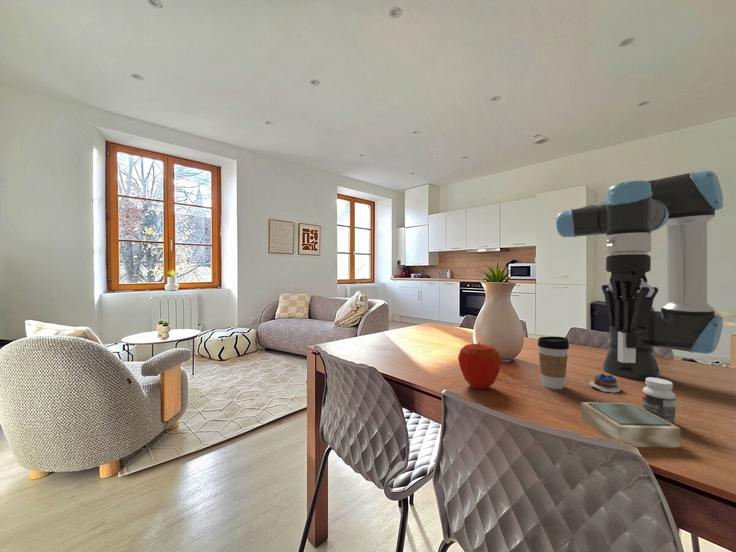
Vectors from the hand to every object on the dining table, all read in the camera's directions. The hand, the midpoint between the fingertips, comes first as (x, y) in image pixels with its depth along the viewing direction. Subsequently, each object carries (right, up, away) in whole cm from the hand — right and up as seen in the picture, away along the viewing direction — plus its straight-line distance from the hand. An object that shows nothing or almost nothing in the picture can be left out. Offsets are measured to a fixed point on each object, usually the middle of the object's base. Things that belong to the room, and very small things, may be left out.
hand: (626, 361), depth 69 cm
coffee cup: (0, -16, +28) cm, 32 cm away
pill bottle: (+11, -16, +5) cm, 20 cm away
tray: (0, -16, 0) cm, 16 cm away
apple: (-23, -16, +27) cm, 39 cm away
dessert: (+14, -16, +28) cm, 35 cm away
